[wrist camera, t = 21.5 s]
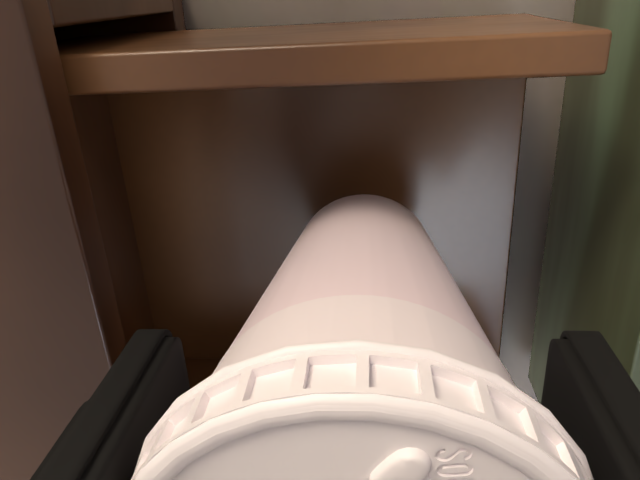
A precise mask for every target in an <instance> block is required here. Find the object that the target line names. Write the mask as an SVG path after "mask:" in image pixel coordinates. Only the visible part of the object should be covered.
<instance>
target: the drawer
mask: <svg viewBox="0 0 640 480" xmlns="http://www.w3.org/2000/svg"><path fill="white" fill-rule="evenodd" d="M56 42H57V46H58V50H59V55H60V59H61V63H62V68H63V72H64V76H65V81H66V85H67V89H68V94H69V98H70V102H71V107H72V111H73V115H74V120H75V124H76V128H77V133H78V137H79V141H80V146H81V150H82V154H83V159H84V163H85V167H86V172H87V176H88V180H89V185H90V189H91V193H92V198H93V202H94V206H95V211H96V215H97V219H98V224H99V228H100V232H101V237H102V241H103V245H104V250H105V254H106V258H107V263H108V267H109V271H110V276H111V280H112V284H113V289H114V293H115V297H116V302H117V306H118V310H119V315H120V319H121V323H122V328H123V332H124V336H125V341H126V345H127V343H128V342H129V340H130V339H131V337H132V336H133V334H134V333H135V332H136V331H137V330H139V329H168V330H170V332H171V333H172V336H173V337H179V338H180V339H181V342H182V346H183V352H184V357H185V363H186V368H187V374H188V379H189V385H190V389H191V388H193V387H194V386H196V385H197V384H199V383H200V382H202V381H203V380H205V379H206V378H208V377H209V376H211V375H212V374H213V372H214V370H215V369H216V367H217V365H218V364H219V362H220V360H221V359H222V357H223V356H224V355H225V353H226V352H227V350H228V349H229V348H230V346H231V344H232V343H233V341H234V340H235V338H236V336H237V335H238V333H239V332H240V330H241V329H242V327H243V325H244V324H245V322H246V321H247V319H248V317H249V316H250V314H251V313H252V311H253V309H254V308H255V306H256V305H257V303H258V302H259V300H260V298H261V297H262V295H263V294H264V292H265V290H266V289H267V287H268V286H269V284H270V283H271V281H272V279H273V278H274V276H275V275H276V273H277V271H278V270H279V268H280V267H281V265H282V263H283V262H284V260H285V259H286V257H287V256H288V254H289V252H290V251H291V249H292V248H293V246H294V244H295V243H296V241H297V240H298V238H299V237H300V235H301V233H302V232H303V230H304V229H305V227H306V225H307V224H308V222H309V221H310V220H311V218H312V217H313V216H314V215H315V214H316V213H317V212H318V211H319V210H320V209H322V208H323V207H324V206H326V205H328V204H329V203H331V202H333V201H335V200H338V199H340V198H343V197H347V196H352V195H360V194H369V195H377V196H382V197H385V198H389V199H391V200H393V201H396V202H398V203H399V204H401V205H403V206H404V207H406V208H407V209H408V210H410V211H411V212H412V213H413V214H414V215H415V216H416V217H417V218H418V220H419V221H420V222H421V224H422V225H423V227H424V229H425V231H426V232H427V234H428V236H429V237H430V239H431V241H432V243H433V244H434V246H435V248H436V250H437V251H438V253H439V255H440V257H441V258H442V260H443V262H444V263H445V265H446V267H447V269H448V270H449V272H450V274H451V276H452V277H453V279H454V281H455V283H456V284H457V286H458V288H459V290H460V291H461V293H462V295H463V296H464V298H465V300H466V302H467V303H468V305H469V307H470V309H471V310H472V312H473V314H474V316H475V317H476V319H477V321H478V323H479V324H480V326H481V328H482V329H483V331H484V333H485V335H486V336H487V338H488V340H489V342H490V343H491V345H492V347H493V349H494V350H495V352H496V354H497V355H498V357H499V354H500V344H501V334H502V324H503V314H504V303H505V293H506V283H507V273H508V263H509V252H510V242H511V232H512V222H513V212H514V201H515V191H516V181H517V171H518V161H519V150H520V140H521V130H522V120H523V109H524V99H525V89H526V79H527V78H538V77H563V76H566V81H565V89H564V97H563V105H562V113H561V121H560V129H559V137H558V145H557V153H556V160H555V168H554V176H553V184H552V192H551V200H550V208H549V216H548V224H547V232H546V240H545V248H544V256H543V264H542V272H541V280H540V287H539V295H538V303H537V311H536V319H535V327H534V335H533V343H532V351H531V359H530V367H529V375H528V377H529V379H530V382H531V384H532V387H533V389H534V392H535V394H536V397H537V399H538V402H539V403H540V404H541V399H542V392H543V385H544V378H545V371H546V364H547V357H548V350H549V344H550V341H551V340H552V339H560V336H561V334H562V332H563V331H599V332H600V333H601V334H602V335H603V337H604V338H605V340H606V341H607V343H608V344H609V346H610V347H611V349H612V350H613V352H614V353H615V355H616V356H617V358H618V359H619V361H620V362H621V364H622V366H623V367H624V369H625V370H626V372H627V373H628V375H629V376H630V378H631V379H632V381H633V382H634V384H635V385H636V387H637V388H638V390H639V391H640V0H576V2H575V10H574V18H573V23H572V22H567V21H561V20H556V19H550V18H545V17H539V16H534V15H530V14H525V13H522V14H502V15H482V16H461V17H441V18H421V19H401V20H381V21H360V22H340V23H320V24H300V25H280V26H260V27H239V28H219V29H199V30H179V31H159V32H138V33H118V34H98V35H82V36H76V37H70V38H65V39H59V40H56Z"/></svg>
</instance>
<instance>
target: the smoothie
mask: <svg viewBox="0 0 640 480" xmlns="http://www.w3.org/2000/svg"><path fill="white" fill-rule="evenodd" d="M131 480H594V479H593V476H592V473H591V470H590V467H589V464H588V461H587V458H586V455H585V454H584V453H583V451H582V450H581V449H580V448H579V446H578V445H577V444H576V443H575V441H574V440H573V439H572V438H571V436H570V435H569V434H568V433H567V431H566V430H565V429H564V428H563V426H562V425H561V424H560V423H559V421H558V420H557V419H556V418H555V416H554V415H553V414H552V413H551V411H550V410H549V409H547V408H546V407H544V406H543V405H541V404H540V403H538V402H537V401H536V400H534V399H533V398H531V397H530V396H528V395H527V394H525V393H524V392H522V391H521V390H520V389H518V388H517V387H516V386H515V384H514V382H513V380H512V378H511V377H510V375H509V373H508V371H507V370H506V368H505V367H504V365H503V364H502V362H501V361H500V359H499V357H498V355H497V354H496V352H495V350H494V349H493V347H492V345H491V343H490V342H489V340H488V338H487V336H486V335H485V333H484V331H483V329H482V328H481V326H480V324H479V323H478V321H477V319H476V317H475V316H474V314H473V312H472V310H471V309H470V307H469V305H468V303H467V302H466V300H465V298H464V296H463V295H462V293H461V291H460V290H459V288H458V286H457V284H456V283H455V281H454V279H453V277H452V276H451V274H450V272H449V270H448V269H447V267H446V265H445V263H444V262H443V260H442V258H441V257H440V255H439V253H438V251H437V250H436V248H435V246H434V244H433V243H432V241H431V239H430V237H429V236H428V234H427V232H426V231H425V229H424V227H423V225H422V224H421V222H420V221H419V220H418V218H417V217H416V216H415V215H414V214H413V213H412V212H411V211H410V210H408V209H407V208H406V207H404V206H403V205H401V204H399V203H398V202H396V201H393V200H391V199H389V198H385V197H382V196H377V195H369V194H360V195H352V196H347V197H343V198H340V199H338V200H335V201H333V202H331V203H329V204H328V205H326V206H324V207H323V208H322V209H320V210H319V211H318V212H317V213H316V214H315V215H314V216H313V217H312V218H311V220H310V221H309V222H308V224H307V225H306V227H305V229H304V230H303V232H302V233H301V235H300V237H299V238H298V240H297V241H296V243H295V244H294V246H293V248H292V249H291V251H290V252H289V254H288V256H287V257H286V259H285V260H284V262H283V263H282V265H281V267H280V268H279V270H278V271H277V273H276V275H275V276H274V278H273V279H272V281H271V283H270V284H269V286H268V287H267V289H266V290H265V292H264V294H263V295H262V297H261V298H260V300H259V302H258V303H257V305H256V306H255V308H254V309H253V311H252V313H251V314H250V316H249V317H248V319H247V321H246V322H245V324H244V325H243V327H242V329H241V330H240V332H239V333H238V335H237V336H236V338H235V340H234V341H233V343H232V344H231V346H230V348H229V349H228V350H227V352H226V353H225V355H224V356H223V357H222V359H221V360H220V362H219V364H218V365H217V367H216V369H215V370H214V372H213V374H212V375H211V376H209V377H208V378H206V379H205V380H203V381H202V382H200V383H199V384H197V385H196V386H194V387H193V388H191V389H190V390H188V391H187V392H185V393H184V394H182V395H181V396H179V397H178V398H176V400H175V401H174V402H173V403H172V405H171V406H170V407H169V409H168V410H167V411H166V412H165V414H164V415H163V416H162V417H161V419H160V420H159V421H158V422H157V424H156V425H155V426H154V427H153V429H152V430H151V431H150V432H149V434H148V435H147V436H146V437H145V440H144V443H143V446H142V449H141V452H140V456H139V459H138V462H137V465H136V468H135V471H134V474H133V476H132V478H131Z"/></svg>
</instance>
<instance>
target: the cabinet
mask: <svg viewBox="0 0 640 480" xmlns="http://www.w3.org/2000/svg"><path fill="white" fill-rule="evenodd" d="M179 30H186V28H185V21H184V14H183V7H182V0H0V480H30V479H31V477H32V476H33V474H34V473H35V471H36V470H37V469H38V467H39V466H40V464H41V463H42V461H43V460H44V458H45V457H46V455H47V454H48V453H49V451H50V450H51V448H52V447H53V445H54V444H55V442H56V441H57V440H58V438H59V437H60V435H61V434H62V432H63V431H64V429H65V428H66V426H67V425H68V424H69V422H70V421H71V419H72V418H73V416H74V415H75V413H76V412H77V411H78V409H79V408H80V407H81V406H82V404H83V403H84V402H86V401H88V400H89V399H90V398H91V396H92V395H93V393H94V392H95V390H96V389H97V387H98V386H99V384H100V383H101V381H102V380H103V378H104V377H105V376H106V374H107V373H108V371H109V370H110V368H111V367H112V365H113V364H114V362H115V361H116V359H117V358H118V356H119V355H120V353H121V352H122V351H123V349H124V348H125V346H126V341H125V336H124V332H123V328H122V323H121V319H120V315H119V310H118V306H117V302H116V297H115V293H114V289H113V284H112V280H111V276H110V271H109V267H108V263H107V258H106V254H105V250H104V245H103V241H102V237H101V232H100V228H99V224H98V219H97V215H96V211H95V206H94V202H93V198H92V193H91V189H90V185H89V180H88V176H87V172H86V167H85V163H84V159H83V154H82V150H81V146H80V141H79V137H78V133H77V128H76V124H75V120H74V115H73V111H72V107H71V102H70V98H69V94H68V89H67V85H66V81H65V76H64V72H63V68H62V63H61V59H60V55H59V50H58V46H57V42H56V40H59V39H65V38H70V37H76V36H82V35H98V34H118V33H138V32H159V31H179Z"/></svg>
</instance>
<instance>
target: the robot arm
mask: <svg viewBox="0 0 640 480" xmlns="http://www.w3.org/2000/svg"><path fill="white" fill-rule="evenodd" d="M188 390H190V385H189V379H188V374H187V368H186V363H185V357H184V352H183V346H182V342H181V339H180V338H179V337H173V336H172V333H171V332H170V330H168V329H139V330H137V331H136V332H135V333H134V334H133V336H132V337H131V339H130V340H129V342H128V343H127V345H126V346H125V348H124V349H123V351H122V352H121V353H120V355H119V356H118V358H117V359H116V361H115V362H114V364H113V365H112V367H111V368H110V370H109V371H108V373H107V374H106V376H105V377H104V378H103V380H102V381H101V383H100V384H99V386H98V387H97V389H96V390H95V392H94V393H93V395H92V396H91V398H90V399H89V400H88V401H86V402H84V403H83V404H82V406H81V407H80V408H79V409H78V411H77V412H76V413H75V415H74V416H73V418H72V419H71V421H70V422H69V424H68V425H67V426H66V428H65V429H64V431H63V432H62V434H61V435H60V437H59V438H58V440H57V441H56V442H55V444H54V445H53V447H52V448H51V450H50V451H49V453H48V454H47V455H46V457H45V458H44V460H43V461H42V463H41V464H40V466H39V467H38V469H37V470H36V471H35V473H34V474H33V476H32V477H31V479H30V480H131V478H132V476H133V474H134V471H135V468H136V465H137V462H138V459H139V456H140V452H141V449H142V446H143V443H144V440H145V437H146V436H147V435H148V434H149V432H150V431H151V430H152V429H153V427H154V426H155V425H156V424H157V422H158V421H159V420H160V419H161V417H162V416H163V415H164V414H165V412H166V411H167V410H168V409H169V407H170V406H171V405H172V403H173V402H174V401H175V400H176V398H178V397H179V396H181V395H182V394H184V393H185V392H187V391H188ZM541 405H543V406H544V407H546V408H547V409H549V410H550V411H551V413H552V414H553V415H554V416H555V418H556V419H557V420H558V421H559V423H560V424H561V425H562V426H563V428H564V429H565V430H566V431H567V433H568V434H569V435H570V436H571V438H572V439H573V440H574V441H575V443H576V444H577V445H578V446H579V448H580V449H581V450H582V451H583V453H584V454H585V455H586V458H587V461H588V464H589V467H590V470H591V473H592V476H593V479H594V480H640V391H639V390H638V388H637V387H636V385H635V384H634V382H633V381H632V379H631V378H630V376H629V375H628V373H627V372H626V370H625V369H624V367H623V366H622V364H621V362H620V361H619V359H618V358H617V356H616V355H615V353H614V352H613V350H612V349H611V347H610V346H609V344H608V343H607V341H606V340H605V338H604V337H603V335H602V334H601V333H600V332H599V331H563V332H562V334H561V336H560V339H552V340H551V341H550V344H549V350H548V357H547V364H546V371H545V378H544V385H543V392H542V399H541Z"/></svg>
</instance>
